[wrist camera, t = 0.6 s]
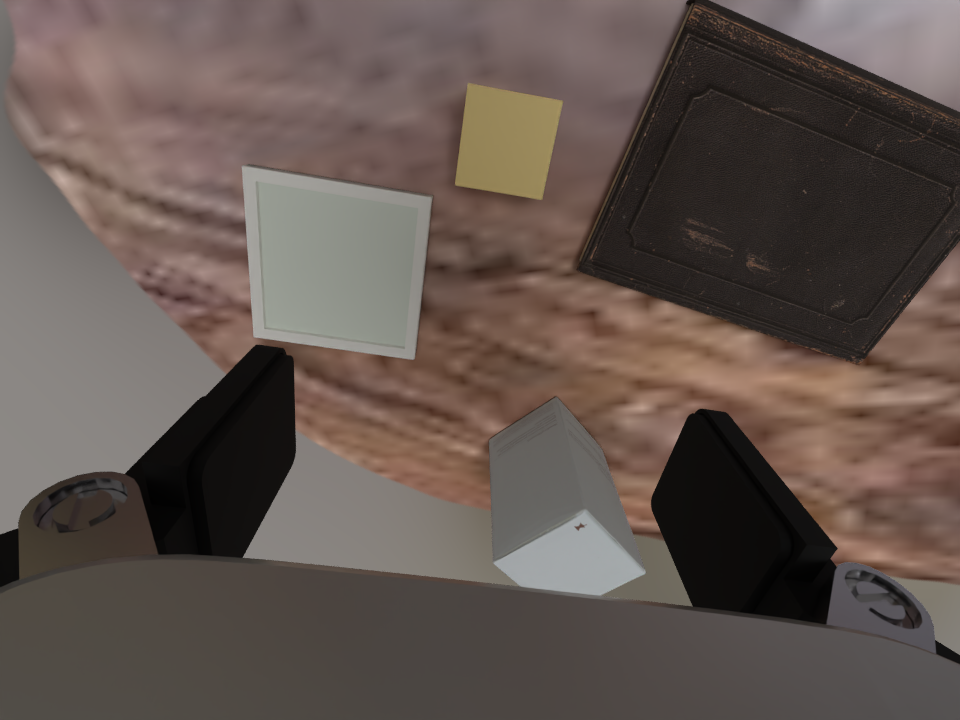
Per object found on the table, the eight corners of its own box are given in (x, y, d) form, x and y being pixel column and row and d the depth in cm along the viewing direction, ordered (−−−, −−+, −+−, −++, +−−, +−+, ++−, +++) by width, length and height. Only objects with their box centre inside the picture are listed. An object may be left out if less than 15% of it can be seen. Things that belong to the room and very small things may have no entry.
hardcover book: (839, 352, 37) (859, 365, 35) (571, 261, 34) (577, 271, 32) (1001, 141, 30) (1039, 142, 28) (684, 0, 27) (701, -9, 25)
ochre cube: (470, 87, 28) (467, 83, 24) (550, 102, 29) (563, 100, 24) (458, 175, 31) (454, 185, 26) (533, 187, 31) (542, 200, 27)
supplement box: (486, 438, 41) (487, 562, 29) (557, 393, 38) (588, 508, 27) (535, 489, 43) (554, 621, 32) (604, 450, 41) (650, 576, 30)
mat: (248, 164, 30) (241, 165, 29) (433, 195, 31) (431, 197, 30) (259, 331, 36) (253, 337, 35) (415, 353, 37) (414, 360, 36)
